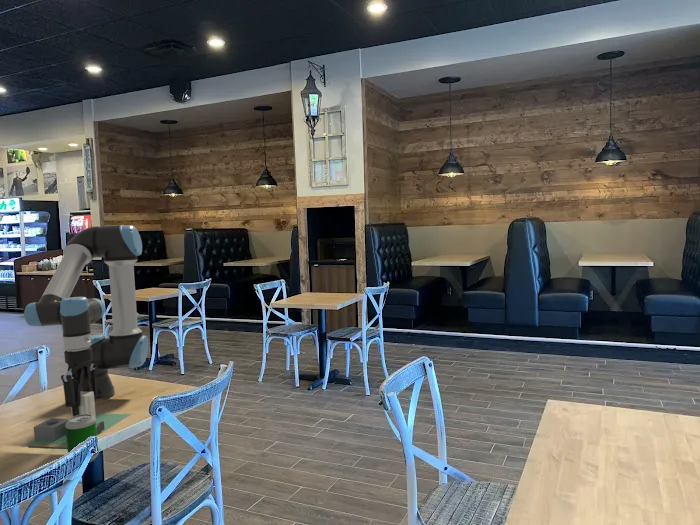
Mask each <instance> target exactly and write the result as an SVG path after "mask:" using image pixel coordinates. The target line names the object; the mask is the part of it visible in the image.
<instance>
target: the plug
mask: <svg viewBox="0 0 700 525" xmlns="http://www.w3.org/2000/svg"><path fill="white" fill-rule="evenodd" d="M80 406H82V409H83V414H91V415H92V416H93V417H95V418H96V414H95V413H96V403H95V400H94V392H81V397H80ZM70 410H71V411H70V412H71V413H70V414H71V417H73V415H72V407H70Z"/></svg>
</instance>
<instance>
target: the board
mask: <svg viewBox="0 0 700 525" xmlns="http://www.w3.org/2000/svg"><path fill="white" fill-rule="evenodd" d="M95 414H96V425H97V436H99V435H101V434H102V433H105V431H107V430H109V429H110V428H112V427H113V426H115V425H116V424H118V423H120V422H122V421H123V420H124V419H126V418H128V417H129V416H131V415H132V414H130V413H100V412H99V413H97V412H95ZM69 419H70V418H61V417H60V418H56V417H55V418H54V417H53V418H52V417H51V418H48V419H47V420H44V421H43V422H41V423H39V424H36V425H35V426H33V437H34V439H32V440H31V441H29V442H28V444H46V445H67V438H66V427H65V424H66V423H67V422H68V420H69ZM28 448H29V449H52V450H68V449H67V447H63V446H61V447H60V446H34V445H33V446H32V445H28Z"/></svg>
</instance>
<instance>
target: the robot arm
mask: <svg viewBox="0 0 700 525" xmlns="http://www.w3.org/2000/svg"><path fill="white" fill-rule="evenodd" d="M142 241H143V240H142V239H141V235H140V233H139V231H138V229H137V228H136V227H135V226H134V225H129V224H128V225H125V224H120V225H118V224H117V225H102V226H90V227H87V228H84V229H83V230H81V231H79V232H78V233H77V234H75V235H73V237H72V238H71V239H70V240H69V241H68V242H66V244H65V247H64V249H63V251H62V255H63V256H62V258H61V261H60V262H59V264H58V266H57V267H56V269H55V271H54V274H53V275H52V277H51V279H50V281H49V282H48V285H47V286H46V288H45V290H44V292H43V293H42V295H41V297H40V299H39V301H38V302H36V301H34V302H30V303H28V304H27V305H26V306H25V308H24V312H23V314H24V315H23V317H24V320H25V322H26V324H27V325H28V326H30V327H47V326H49V327H51V326H61V330H62V342H63V343H62V344H63V350H64V352H63V355H64V362H65V364H66V365H67V372H66V373H65V374H62V375H61V376H60V379H61V381H62V385H63V391H64V392H63V393H64V402H65V403H64V404H65V407H67V408H71V407H72V413H71V416H72V415H73V417H74V416H77V415H81V414H83V409H82V406H80V397H81V392H94V401H95V400H106V399H109V398H111V397H113V396H114V395H115V394H116V392H115V391H116V390H115V386H114V385H113V382H112V380H111V377H110V375H109V370H112V369H128V368H130V369H132V368H138V367H139V368H140V367H141V366H143V365H144V363H145V362H146V360H147V357H148V353H149V338H148V336H147V335H144V334H143V330H142V329H140V328H139V326H138V316H137V314H138V312H137V299H136V298H137V297H136V285H135V284H136V282H135V264H136V263H137V262H138V256H141V255H142V253H143V242H142ZM95 258H103V262H104V264H106V265H107V266H108V269H109V272H108V273H109V287H110V301H111V315H112V316H111V317H112V330H111V332H110V333H108V334H109V335H108V336H109V337H108V338H107V337H106V335H105V334H103V333H97V334H94V335H92V334H91V333H92V332H91V324H94V323H96V322H98V321H99V320H100V319H102V318H103V317H104V315H105V313H106V305H105V303H104V302H103V301H102V300H101V299H99V298H96V297H95V298H94V297H92V298H87V297H86V296H73V297H71V295H72V293H73V291H74V288H75V286H76V285H77V283H78V280H79V279H80V276H81V274H82V272H83V270H84V268H85V265H88V264H89V263H90V262H91V260H92V259H95Z"/></svg>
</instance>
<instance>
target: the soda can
mask: <svg viewBox="0 0 700 525" xmlns="http://www.w3.org/2000/svg"><path fill="white" fill-rule="evenodd" d="M68 419H69V420H68V422H67V423H66V424H65V427H66V438H67V444H66V446H67V447H66V448H67V449H66V450H67V453H68V452H70V451H71V450H72V449H73V448H74V447H76V446H77V445H78V444H79V443H81V442H83V441H85V440H86V439H87V438H88V437H90V436H97V437H98V435H97V425H96V418H95V417H93V416H92V415H91V414H81V415H77V416H74V417H72V416H71V417H69V418H68ZM97 451H98V452H97V453H95V454H94V455H93V456H92V457H91V459H90V461H89V463H92V462H93V461H95V460H96V458H97V457H98V456H99V454H100V452H99V443H98V444H97ZM89 463H88V464H89Z"/></svg>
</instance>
